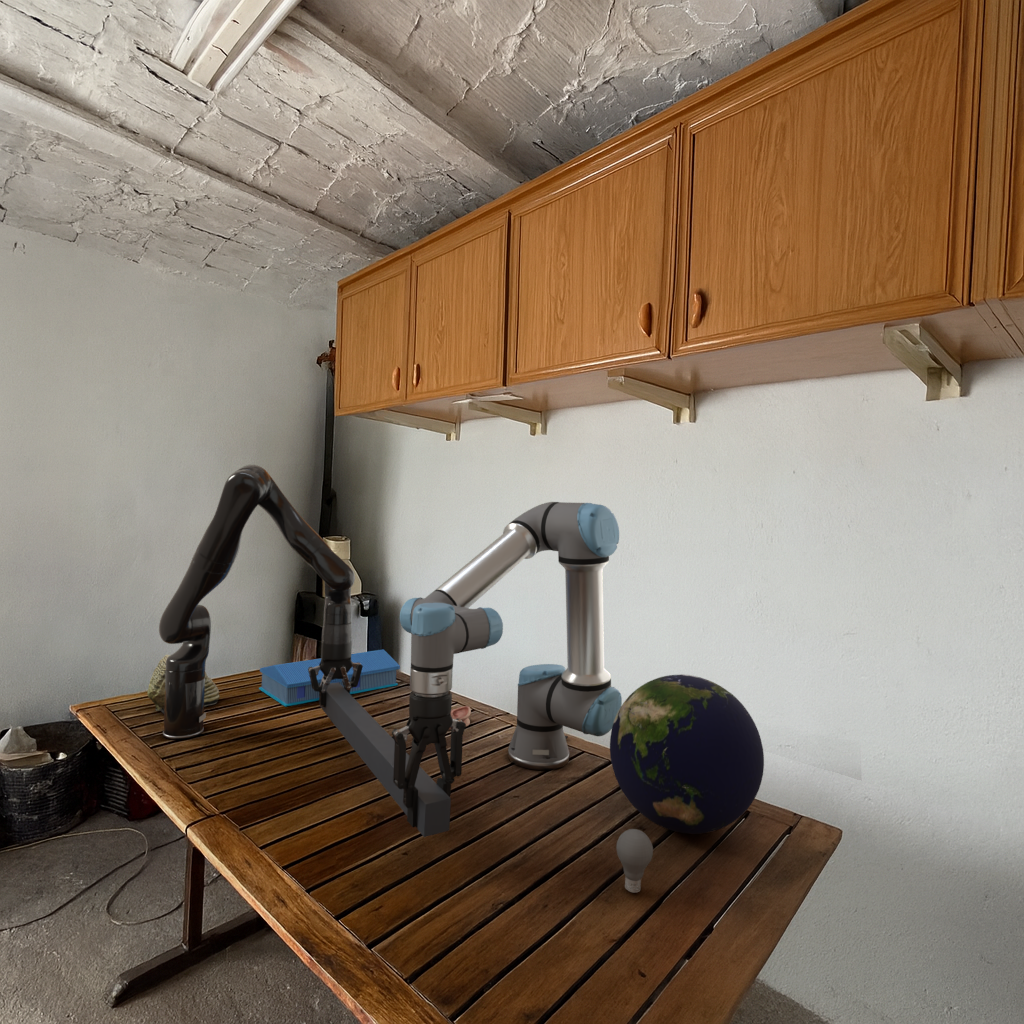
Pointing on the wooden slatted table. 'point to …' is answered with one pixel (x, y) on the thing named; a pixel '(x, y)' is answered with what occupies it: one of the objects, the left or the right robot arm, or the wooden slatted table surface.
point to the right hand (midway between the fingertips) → (426, 819)
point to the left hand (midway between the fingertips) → (334, 704)
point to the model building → (295, 684)
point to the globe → (686, 754)
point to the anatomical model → (461, 714)
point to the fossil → (158, 687)
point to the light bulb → (634, 857)
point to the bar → (386, 759)
